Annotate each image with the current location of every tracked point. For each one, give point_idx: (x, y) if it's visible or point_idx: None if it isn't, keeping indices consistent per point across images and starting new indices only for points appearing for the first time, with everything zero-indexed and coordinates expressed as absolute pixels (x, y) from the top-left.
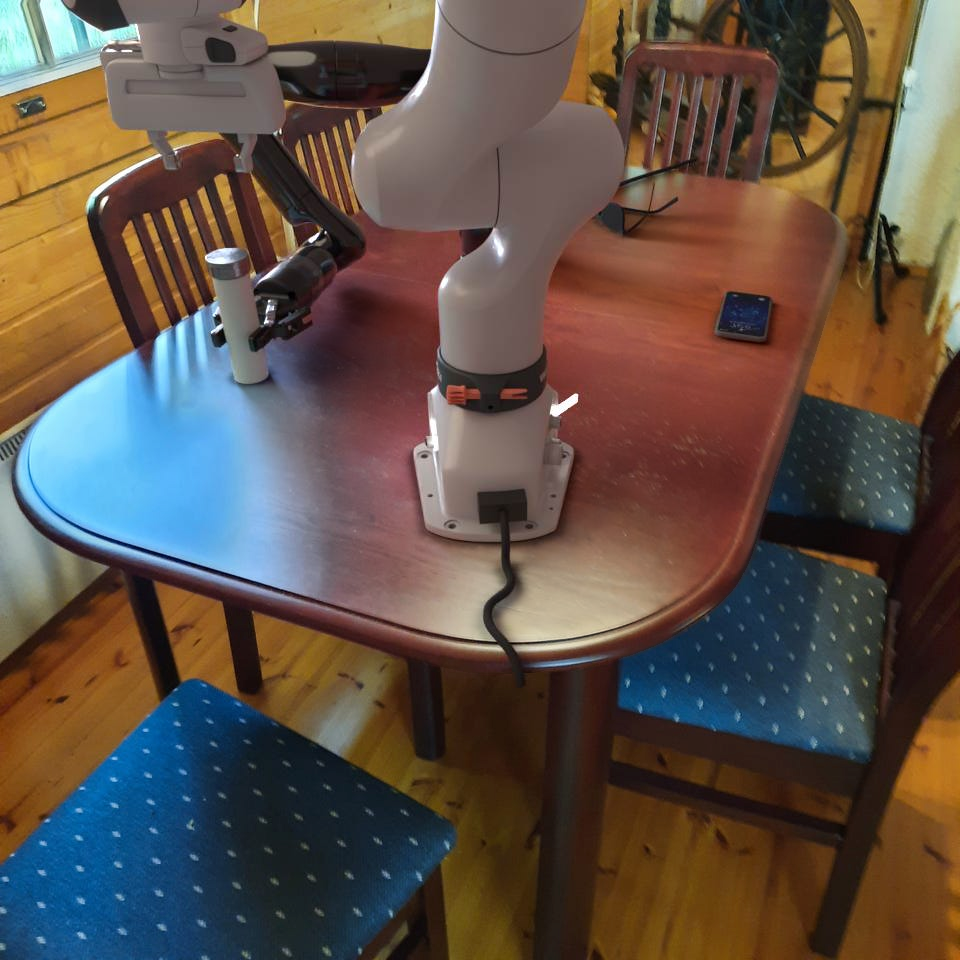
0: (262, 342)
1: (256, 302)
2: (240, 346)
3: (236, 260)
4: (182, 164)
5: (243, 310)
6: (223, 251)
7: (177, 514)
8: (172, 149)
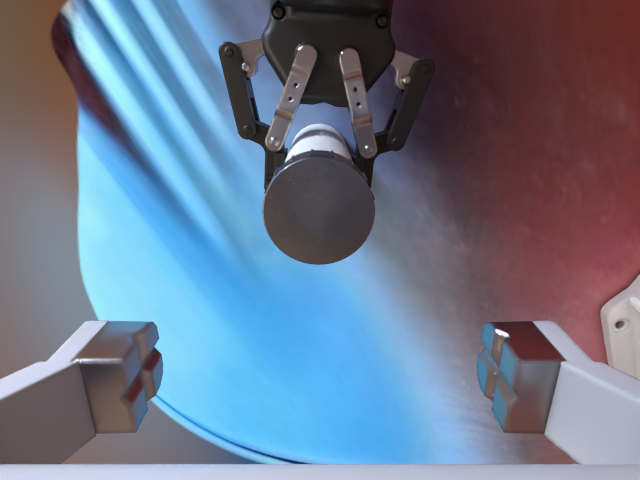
0: None
1: (311, 71)
2: None
3: (358, 239)
4: (152, 325)
5: None
6: (296, 187)
7: (358, 430)
8: (70, 371)
